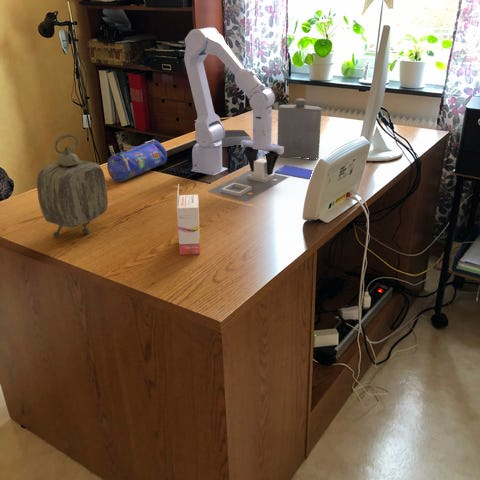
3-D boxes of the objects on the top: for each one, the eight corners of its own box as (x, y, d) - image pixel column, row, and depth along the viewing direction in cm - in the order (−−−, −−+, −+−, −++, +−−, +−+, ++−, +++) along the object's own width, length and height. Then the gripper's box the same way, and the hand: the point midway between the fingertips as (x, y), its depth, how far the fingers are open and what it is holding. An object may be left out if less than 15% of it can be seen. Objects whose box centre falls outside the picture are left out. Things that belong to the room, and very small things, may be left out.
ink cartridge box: (200, 254, 124) (198, 195, 118) (179, 255, 124) (175, 196, 117) (200, 238, 132) (197, 181, 125) (179, 239, 132) (176, 182, 125)
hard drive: (274, 171, 174) (309, 177, 168) (285, 164, 180) (320, 170, 174) (274, 176, 174) (309, 182, 169) (285, 168, 181) (319, 175, 175)
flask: (320, 155, 192) (323, 98, 183) (317, 160, 187) (320, 102, 178) (279, 152, 196) (280, 96, 187) (275, 156, 191) (276, 99, 182)
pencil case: (151, 162, 187) (149, 135, 183) (170, 166, 183) (169, 138, 179) (106, 180, 170) (102, 151, 166) (126, 185, 166) (123, 155, 162)
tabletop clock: (88, 218, 143) (75, 125, 132) (114, 225, 139) (102, 130, 128) (45, 239, 132) (27, 139, 121) (72, 247, 128) (55, 145, 117)
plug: (253, 178, 169) (253, 161, 167) (260, 174, 172) (260, 158, 170) (263, 180, 168) (263, 163, 165) (270, 176, 171) (270, 160, 168)
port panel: (207, 192, 160) (207, 188, 159) (251, 170, 177) (251, 166, 177) (246, 202, 152) (246, 197, 152) (288, 178, 170) (288, 174, 170)
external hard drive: (253, 147, 204) (253, 136, 202) (203, 150, 200) (202, 140, 198) (245, 138, 215) (245, 128, 213) (197, 141, 211) (197, 131, 210)
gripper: (235, 129, 164) (235, 171, 170) (275, 136, 156) (274, 180, 162) (247, 124, 169) (247, 165, 175) (287, 130, 162) (286, 173, 168)
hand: (261, 172), depth 169 cm, fingers open, 5 cm apart
